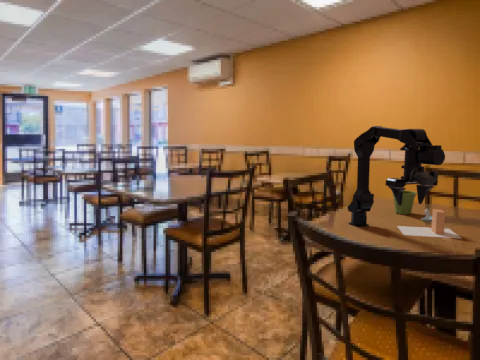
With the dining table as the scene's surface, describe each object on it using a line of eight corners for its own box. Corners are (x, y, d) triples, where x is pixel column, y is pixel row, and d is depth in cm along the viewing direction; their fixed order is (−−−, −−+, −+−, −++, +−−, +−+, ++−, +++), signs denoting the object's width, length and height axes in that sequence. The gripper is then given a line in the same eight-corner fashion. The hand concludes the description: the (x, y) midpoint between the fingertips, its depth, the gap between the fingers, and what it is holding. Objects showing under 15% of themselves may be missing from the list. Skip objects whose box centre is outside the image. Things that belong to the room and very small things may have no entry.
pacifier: (439, 222, 152) (426, 219, 156) (440, 209, 151) (427, 206, 155) (432, 224, 147) (419, 222, 152) (434, 211, 146) (420, 209, 151)
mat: (403, 235, 130) (404, 234, 130) (396, 226, 143) (396, 225, 143) (461, 239, 125) (462, 238, 125) (448, 229, 138) (448, 228, 138)
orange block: (435, 234, 131) (436, 212, 130) (431, 230, 136) (432, 209, 135) (443, 234, 130) (445, 212, 129) (439, 230, 135) (440, 209, 134)
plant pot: (409, 210, 175) (411, 190, 173) (419, 216, 163) (421, 194, 162) (387, 210, 176) (388, 190, 175) (395, 215, 164) (396, 193, 163)
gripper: (408, 165, 109) (405, 211, 111) (452, 164, 114) (448, 207, 116) (385, 163, 120) (383, 204, 122) (426, 161, 125) (423, 201, 127)
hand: (410, 204), depth 121 cm, fingers open, 9 cm apart
